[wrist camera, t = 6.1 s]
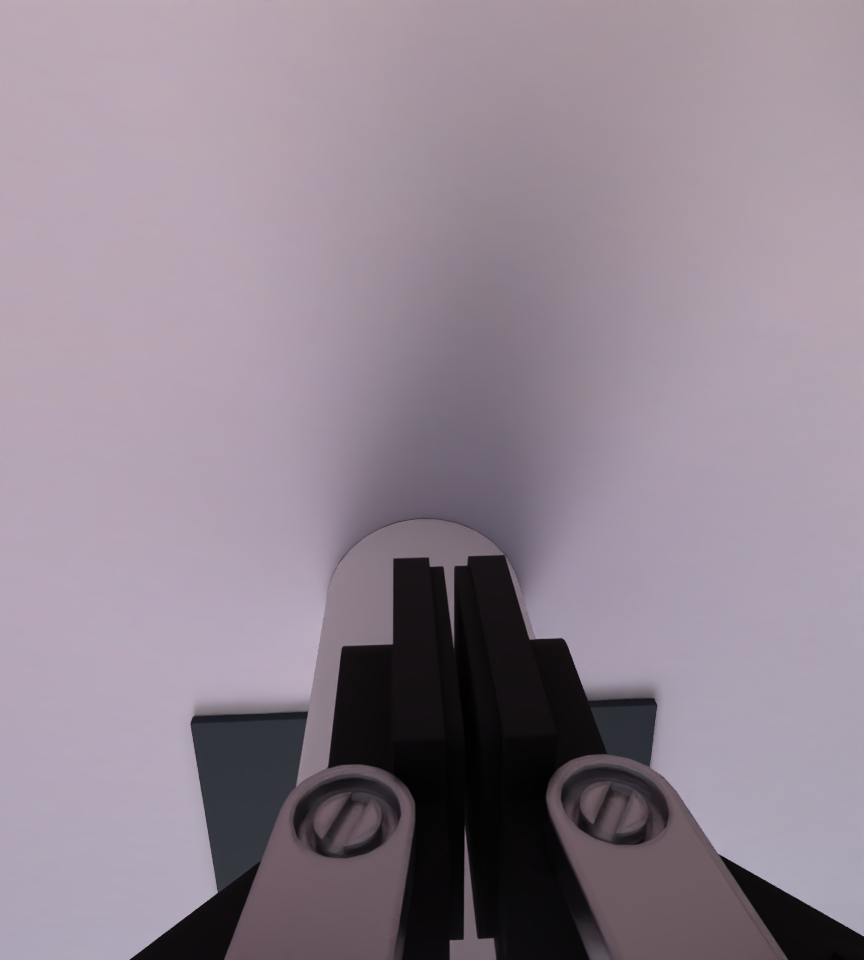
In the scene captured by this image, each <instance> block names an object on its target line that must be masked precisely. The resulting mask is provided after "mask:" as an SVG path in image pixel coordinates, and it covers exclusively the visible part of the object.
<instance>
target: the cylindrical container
mask: <svg viewBox="0 0 864 960" xmlns="http://www.w3.org/2000/svg"><path fill="white" fill-rule="evenodd" d="M487 555H504V554H503V553H502V552H501V551H500V550H499V548H498V547H497V546H496V545H495V544H494V543H493V542H491V541H490V540H489V539H487V538H486V537H484V536H483V535H481V534H480V533H478V532H477V531H475V530H472V529H470V528H467V527H465V526H463V525H460V524H458V523H453V522H448V521H443V520H438V519H416V520H409V521H403V522H398V523H395V524H392V525H389V526H386V527H383V528H381V529H379V530H377V531H375V532H373V533H372V534H370V535H368V536H366V537H365V538H363V539H362V540H361V541H360V542H359V543H357V544H356V545H355V546H354V547H353V548H351V549H350V550H349V552H348V553H347V554H346V555H345V557H344V558H343V559H342V560H341V562H340V563H339V564H338V566H337V568H336V571H335V573H334V575H333V577H332V579H331V581H330V586H329V590H328V595H327V600H326V606H325V612H324V618H323V624H322V630H321V637H320V643H319V649H318V655H317V661H316V667H315V674H314V680H313V686H312V692H311V698H310V704H309V711H308V717H307V723H306V729H305V735H304V741H303V748H302V754H301V760H300V766H299V772H298V778H297V785H296V787H297V786H298V785H299V784H300V783H301V782H302V781H303V780H305V779H307V778H308V777H310V776H312V775H314V774H316V773H318V772H320V771H322V770H325V769H328V763H329V754H330V745H331V736H332V727H333V719H334V710H335V701H336V692H337V683H338V675H339V666H340V657H341V650H342V647H343V646H357V645H386V644H393V558H421V557H429V563H430V567H436V566H443V567H444V574H445V582H446V590H447V598H448V606H449V614H450V622H451V629H452V637H453V645H454V567H455V566H467V561H468V556H487ZM505 558H506V556H505ZM506 561H507V564H508V568H509V571H510V574H511V578H512V581H513V585H514V588H515V592H516V595H517V598H518V602H519V605H520V609H521V612H522V615H523V619H524V622H525V626H526V629H527V633H528V636H529V639H535V635H534V632H533V629H532V625H531V622H530V619H529V616H528V612H527V609H526V606H525V603H524V599H523V596H522V593H521V590H520V586H519V583H518V580H517V577H516V574H515V571H514V569H513V568H512V566H511V564H510V563H509V561H508V559H507V558H506ZM450 960H496V954H495V946H494V938H490V939H478V938H477V933H476V924H475V915H474V906H473V897H472V887H471V878H470V869H469V860H468V850H467V841H466V832H465V858H464V939H463V940H450Z"/></svg>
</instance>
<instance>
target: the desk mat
mask: <svg viewBox="0 0 864 960" xmlns="http://www.w3.org/2000/svg"><path fill="white" fill-rule="evenodd" d="M588 703H589V705H590V708H591V711H592V713H593V716H594V719H595V722H596V724H597V727H598V730H599V732H600V735H601V738H602V741H603V743H604V746H605V749H606V751H607V754H609V755H614V756H620V757H625V758H629V759H632V760H634V761H637V762H639V763H641V764H644V765H646V766H648V767H650V760H651V751H652V743H653V735H654V726H655V718H656V710H657V704H656V702H655V700H654V699H633V700H608V701H588ZM307 717H308V712H306V713H281V714H256V715H231V716H206V717H193V718H192V721H191V730H192V736H193V742H194V748H195V754H196V760H197V767H198V773H199V779H200V785H201V791H202V797H203V803H204V810H205V816H206V822H207V828H208V834H209V840H210V847H211V853H212V859H213V865H214V871H215V877H216V884H217V890H218V893H219V892H220V891H221V890H223V889H224V888H225V887H227V886H228V885H229V884H231V883H232V882H233V881H235V880H236V879H237V878H239V877H240V876H241V875H243V874H244V873H245V872H246V871H248V870H249V869H250V868H252V867H253V866H254V865H256V864H257V863H258V862H260V861H261V860H262V857H263V855H264V852H265V849H266V847H267V844H268V841H269V839H270V836H271V833H272V831H273V828H274V825H275V823H276V820H277V817H278V815H279V812H280V809H281V807H282V806H283V804H284V802H285V800H286V799H287V797H288V795H289V793H290V792H291V791H292V790H294V789H295V788H296V785H297V778H298V772H299V766H300V760H301V754H302V748H303V741H304V735H305V729H306V723H307Z"/></svg>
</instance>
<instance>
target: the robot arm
mask: <svg viewBox="0 0 864 960" xmlns="http://www.w3.org/2000/svg"><path fill="white" fill-rule="evenodd" d="M465 832H466V841H467V850H468V860H469V869H470V878H471V887H472V897H473V906H474V915H475V924H476V933H477V938H478V939H490V938H494V946H495V954H496V960H864V936H862V935H860V934H858V933H857V932H855V931H853V930H851V929H850V928H848V927H846V926H844V925H843V924H841V923H839V922H837V921H835V920H834V919H832V918H830V917H828V916H827V915H825V914H823V913H821V912H820V911H818V910H816V909H814V908H813V907H811V906H809V905H807V904H806V903H804V902H802V901H800V900H799V899H797V898H795V897H793V896H791V895H790V894H788V893H786V892H784V891H783V890H781V889H779V888H777V887H776V886H774V885H772V884H770V883H769V882H767V881H765V880H763V879H762V878H760V877H758V876H756V875H754V874H753V873H751V872H749V871H747V870H746V869H744V868H742V867H740V866H739V865H737V864H735V863H733V862H732V861H730V860H728V859H726V858H725V857H723V856H721V855H719V854H718V853H717V852H716V850H715V849H714V847H713V846H712V844H711V843H710V841H709V840H708V838H707V837H706V835H705V834H704V832H703V831H702V829H701V828H700V826H699V825H698V823H697V822H696V820H695V819H694V817H693V816H692V814H691V813H690V811H689V810H688V808H687V806H686V805H685V803H684V802H683V800H682V799H681V797H680V796H679V794H678V793H677V791H676V790H675V789H674V788H673V787H672V786H671V785H670V784H669V782H668V781H667V780H666V779H665V778H664V777H663V776H661V775H660V774H658V773H657V772H655V771H654V770H653V769H651V768H650V767H648V766H646V765H644V764H641V763H639V762H637V761H634V760H632V759H629V758H625V757H620V756H614V755H609V754H607V751H606V749H605V746H604V743H603V741H602V738H601V735H600V732H599V730H598V727H597V724H596V722H595V719H594V716H593V713H592V711H591V708H590V705H589V703H588V700H587V697H586V695H585V692H584V689H583V686H582V684H581V681H580V678H579V676H578V673H577V670H576V668H575V665H574V662H573V659H572V657H571V654H570V651H569V649H568V646H567V644H566V642H565V640H564V639H562V638H557V639H529V636H528V633H527V629H526V626H525V622H524V619H523V615H522V612H521V609H520V605H519V602H518V598H517V595H516V592H515V588H514V585H513V581H512V578H511V574H510V571H509V568H508V564H507V561H506V558H505V555H487V556H468V561H467V566H455V567H454V645H453V637H452V629H451V622H450V614H449V606H448V598H447V590H446V582H445V574H444V567H443V566H436V567H430V563H429V557H421V558H393V644H386V645H357V646H343V647H342V650H341V657H340V666H339V675H338V683H337V692H336V701H335V710H334V719H333V727H332V736H331V745H330V754H329V763H328V769H325V770H322V771H320V772H318V773H316V774H314V775H312V776H310V777H308V778H307V779H305V780H303V781H302V782H301V783H300V784H299V785H298V786H297V787H296V788H295V789H294V790H292V791H291V792H290V793H289V795H288V797H287V799H286V800H285V802H284V804H283V806H282V807H281V809H280V812H279V815H278V817H277V820H276V823H275V825H274V828H273V831H272V833H271V836H270V839H269V841H268V844H267V847H266V849H265V852H264V855H263V857H262V860H261V861H260V862H258V863H257V864H256V865H254V866H253V867H252V868H250V869H249V870H248V871H246V872H245V873H244V874H243V875H241V876H240V877H239V878H237V879H236V880H235V881H233V882H232V883H231V884H229V885H228V886H227V887H225V888H224V889H223V890H221V891H220V892H219V893H217V894H216V895H215V896H213V897H212V898H211V899H209V900H208V901H207V902H205V903H204V904H203V905H201V906H200V907H199V908H197V909H196V910H195V911H194V912H192V913H191V914H190V915H188V916H187V917H186V918H184V919H183V920H182V921H180V922H179V923H178V924H176V925H175V926H174V927H172V928H171V929H170V930H168V931H167V932H166V933H164V934H163V935H162V936H160V937H159V938H158V939H156V940H155V941H154V942H152V943H151V944H150V945H148V946H147V947H146V948H145V949H143V950H142V951H141V952H139V953H138V954H137V955H135V956H134V957H133V958H131V959H130V960H450V940H463V939H464V858H465Z"/></svg>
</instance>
